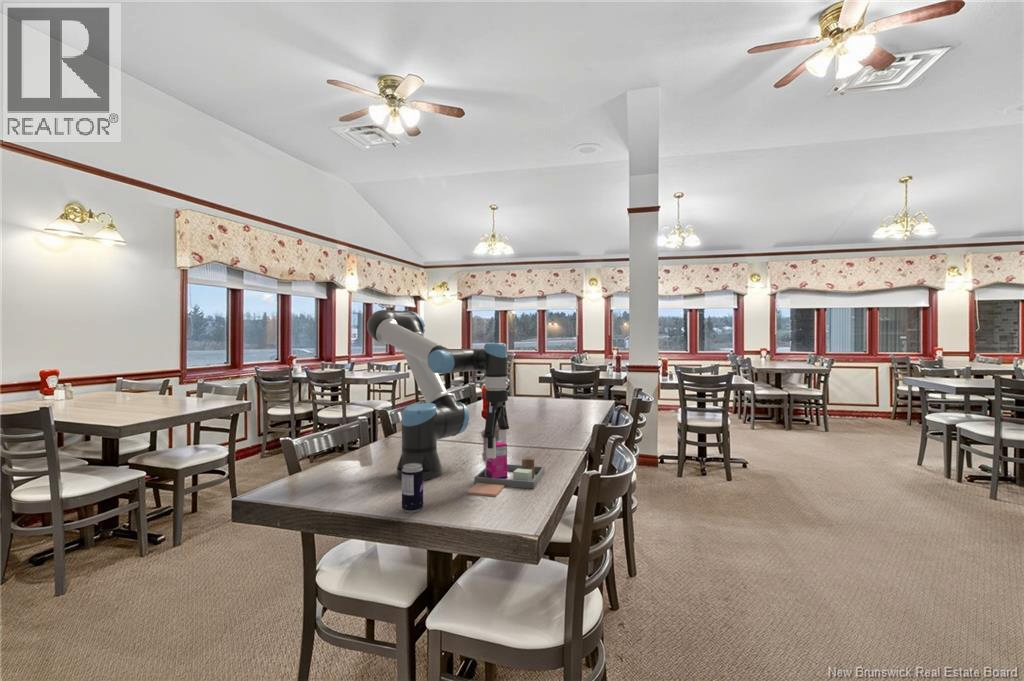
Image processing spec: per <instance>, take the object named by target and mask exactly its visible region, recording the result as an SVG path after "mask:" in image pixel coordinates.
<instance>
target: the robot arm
mask: <svg viewBox="0 0 1024 681" xmlns="http://www.w3.org/2000/svg"><path fill="white" fill-rule="evenodd" d="M425 325H426V324H425V322H424V319H423V318H422V316H421V315H420V314H418V313H417V312H415V311H410V310H395V309H394V310H393V309H380V310H377V311H375V312H373V313H372V314H371V315H370V316H369V318H368V320H367V323H366V329H367V332H368V334H369V336H370V337H371V338H372V339H373V340H374V341H377V342H379V343H380V344H383V345H388V344H389V345H390V346H392V347H395V348H396V349H397V350H399V351H401V352H402V353H403V356H404V358H405V360H406V362H407V365H408V367H409V369H410V371H411V373H412V375H413V377H414V380H415V381H416V383H417V386H418V387H419V391H420V393H421V394H422V396H423V398H424V401H425V402H421V403H414V404H411V405H409V406H406V407H404V409H403V410H402V413H401V419H400V421H401V422H400V424H401V455H400V457H399V460H398V464H397V467H396V472H395V473H396V474H395V475H396V477H397V478H398V479H400V480H402V469H403V466H404V465H405V464H409V463H419V464H421V465H422V468H423V481H427V480H432V479H436V478H439V477H440V476H441V475H442V474H443V466H442V463H441V460H440V456H439V454H438V448H437V446H438V445H437V444H438V442H437V441H438V440H441V439H446V438H451V437H456V436H457V435H461V434H462V433H464V432H465V431H466V430H467V428H468V426H469V421H470V412H469V408H468V407H467V405H466V404H465V403H462V402H461V401H457V400H456V397H455V395H454V394H453V393H450V392H448V391H447V388H446V386H445V384H444V382H443V380H442V378H441V376H440V374H441V375H444V374H450V373H461V372H462V373H463V372H464V373H465V372H476V371H477V372H484V388H485V389H486V390H485V391H484V395H485V396H484V399H485V402H487V403H490V405H488V406H487V407H486V417H485V418H486V419H485V426H484V434H483V438H484V439H486V442H487V458H494V459H495V458H496V443H495V441H496V436H495V435H496V431H497V430H496V429H497V424H498V427H499V428H498V440H500V441H502V442H504V443H506V444H507V445H508V441H507V440H508V436H507V435H508V433H507V430H510V426H509V419H508V413H507V408H506V407H507V406H506V405H507V404H506V402H507V401H509V398H508V397H509V396H508V395H509V391H508V389H507V388H508V383H509V382H510V380H509V379H508V357H509V356H508V348H507V344H506V343H504V342H489V343H488V342H487V343H485V344H484V348H463V349H458V348H457V349H449V348H447V347H446V346H443V345H442V344H439V343H437V342H435V341H433V340H432V339H429V338H426V337H425V331H426V329H425Z"/></svg>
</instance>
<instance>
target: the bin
mask: <svg viewBox="0 0 1024 681" xmlns="http://www.w3.org/2000/svg"><path fill="white" fill-rule="evenodd" d="M517 468H519V469H522V464H509V463H507V472H508V471H511V472H514V471H515V470H516V469H517ZM545 468H546V467H545V466H538V465H534V474H535V473H537V474H536V476H534V478H533V479H532V481H524V480H513V479H511V478H510V479H509V478H503V479H498V478H489V477H487V476H486V467H484V468H483V469H482V470H480V471H479V473H477V475H475V476H474V479H473V482H474V485H475V484H476V483H486V484H498V485H505V487H512V488H522V489H524V488H525V489H536V487H537V485H538V484H539V482H540V480H541V479H542V477H543V476H544V475H545V472H546V470H545Z"/></svg>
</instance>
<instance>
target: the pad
mask: <svg viewBox="0 0 1024 681" xmlns="http://www.w3.org/2000/svg"><path fill="white" fill-rule="evenodd" d="M505 487H506V486H505V485H498V484H486V483H476V484H474V485H473V486H472V487H471V488H470V489H468V491H466V494H467V495H475V496H486V497H497V496H498V495H499V494H500V493H501V492H502V490H504V489H505Z"/></svg>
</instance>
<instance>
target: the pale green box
mask: <svg viewBox="0 0 1024 681" xmlns="http://www.w3.org/2000/svg"><path fill="white" fill-rule="evenodd" d="M512 472H513V474H512V475H513V478H512V480H524V481H533V478H532V470H529V469H519V468H517V469H516V470H515V471H512Z"/></svg>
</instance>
